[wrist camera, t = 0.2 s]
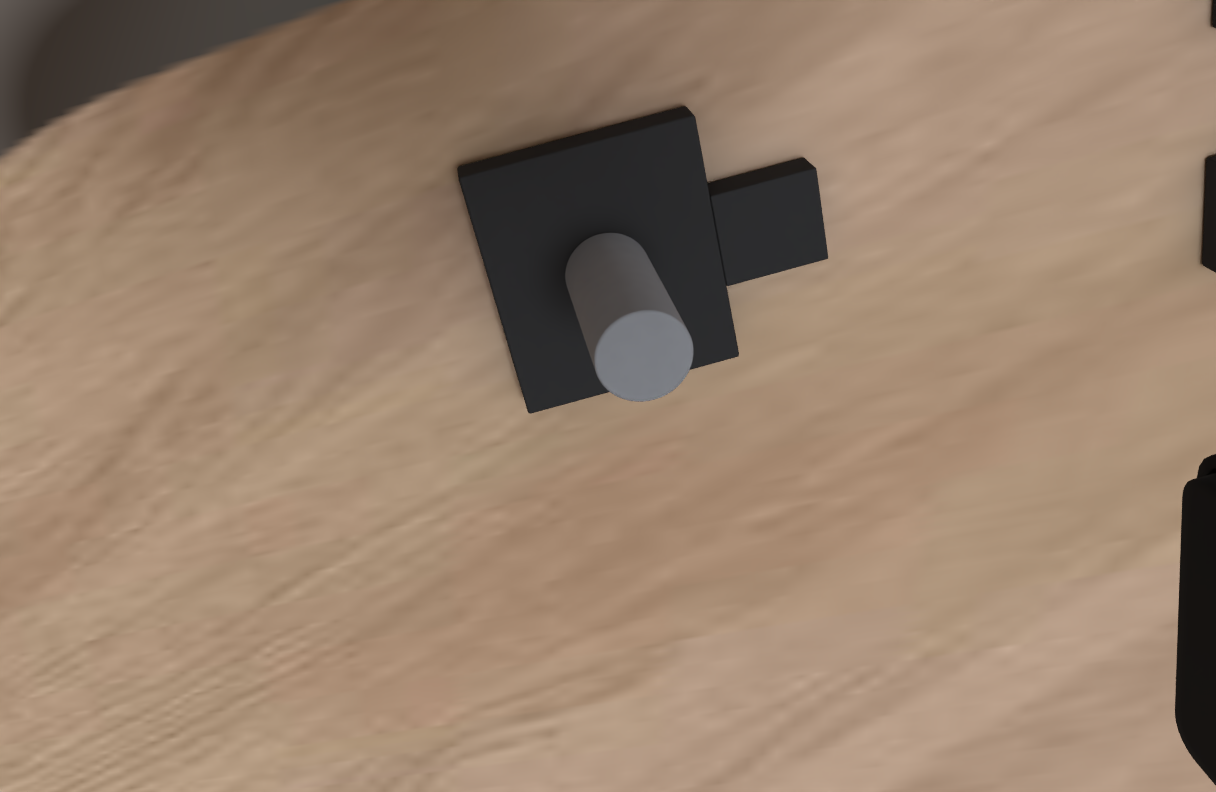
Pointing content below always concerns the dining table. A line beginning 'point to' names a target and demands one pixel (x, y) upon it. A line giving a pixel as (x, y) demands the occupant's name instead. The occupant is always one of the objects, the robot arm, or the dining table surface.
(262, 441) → the dining table surface
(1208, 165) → the big pad
